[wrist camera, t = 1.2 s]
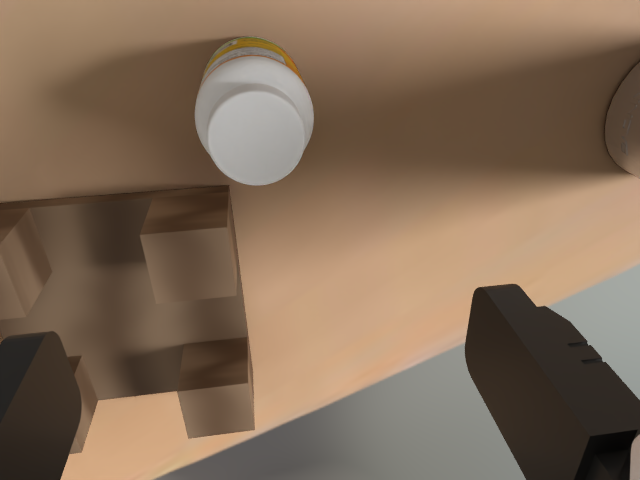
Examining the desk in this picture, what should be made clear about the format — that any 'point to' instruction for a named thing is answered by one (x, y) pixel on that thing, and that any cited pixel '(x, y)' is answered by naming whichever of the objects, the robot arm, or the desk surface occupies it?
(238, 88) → the supplement bottle
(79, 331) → the cross slot block
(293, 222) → the desk surface
